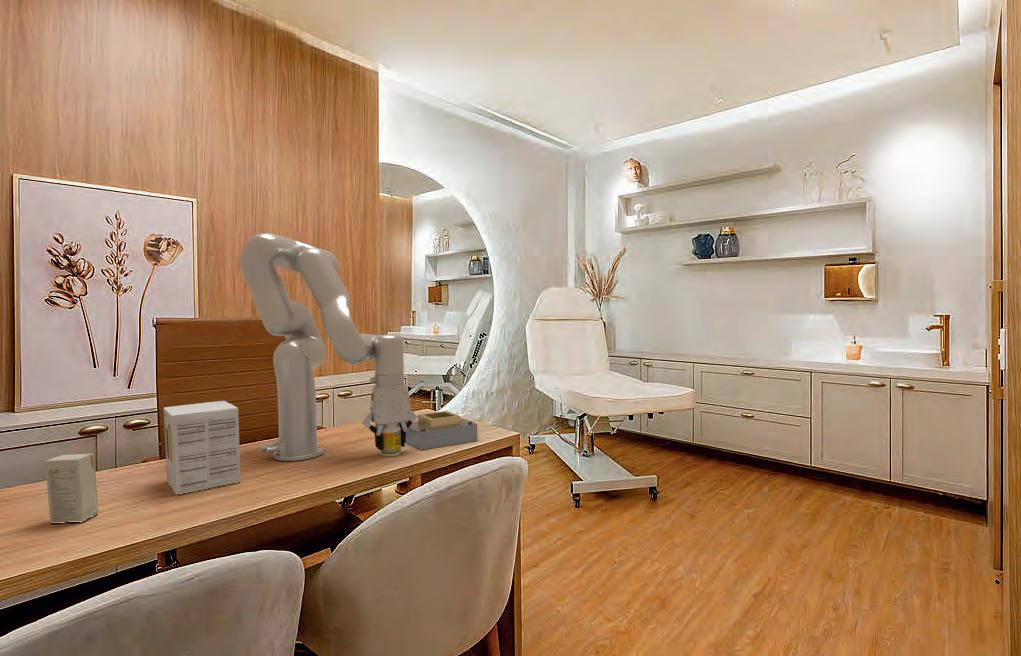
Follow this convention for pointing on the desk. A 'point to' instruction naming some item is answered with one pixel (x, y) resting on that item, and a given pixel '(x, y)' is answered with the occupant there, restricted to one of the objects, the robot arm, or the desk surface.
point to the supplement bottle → (391, 440)
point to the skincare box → (71, 487)
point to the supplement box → (201, 445)
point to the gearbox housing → (440, 430)
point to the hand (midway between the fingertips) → (390, 446)
